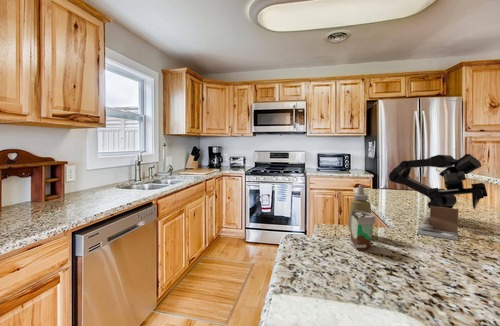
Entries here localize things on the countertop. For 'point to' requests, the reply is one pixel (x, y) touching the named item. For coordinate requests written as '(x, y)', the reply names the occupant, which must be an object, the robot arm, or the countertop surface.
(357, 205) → the squeeze bottle
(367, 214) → the food container
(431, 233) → the slate base
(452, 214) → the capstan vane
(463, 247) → the countertop surface
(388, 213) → the countertop surface
